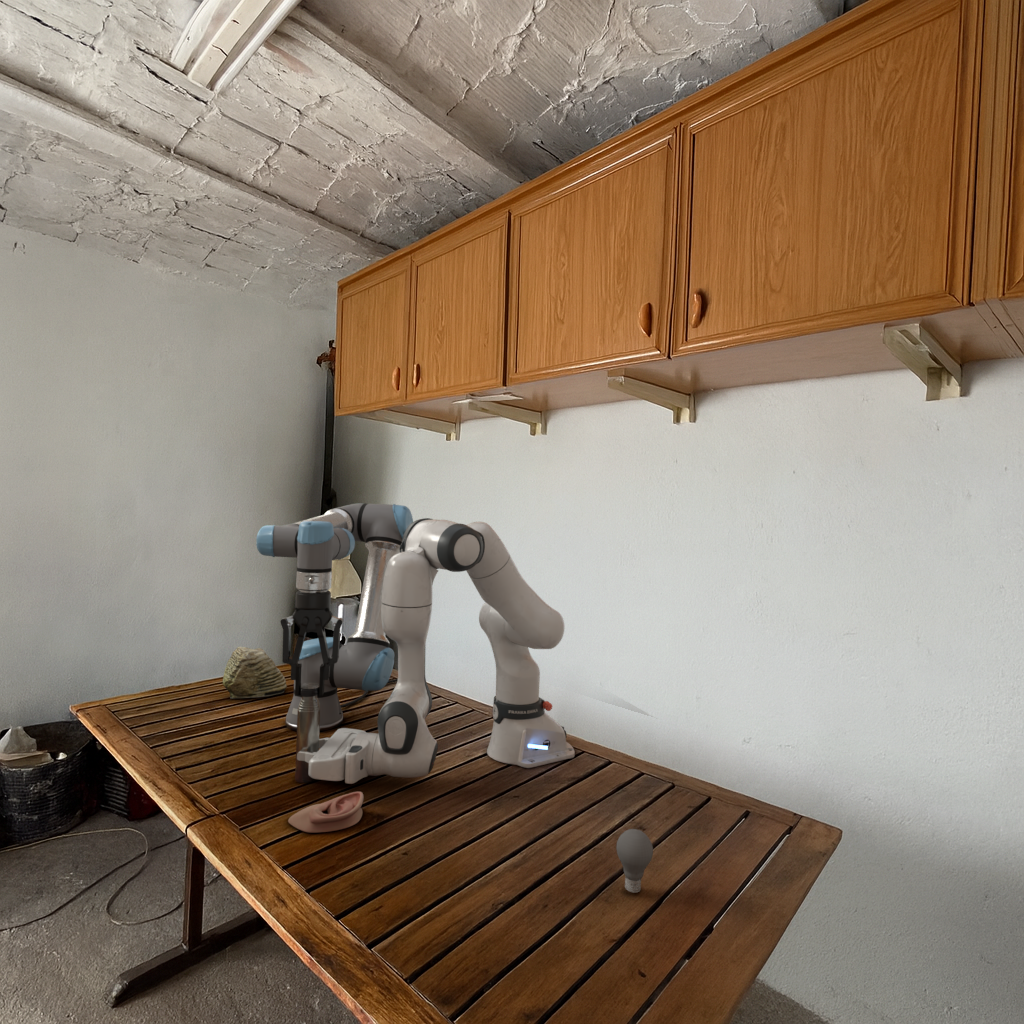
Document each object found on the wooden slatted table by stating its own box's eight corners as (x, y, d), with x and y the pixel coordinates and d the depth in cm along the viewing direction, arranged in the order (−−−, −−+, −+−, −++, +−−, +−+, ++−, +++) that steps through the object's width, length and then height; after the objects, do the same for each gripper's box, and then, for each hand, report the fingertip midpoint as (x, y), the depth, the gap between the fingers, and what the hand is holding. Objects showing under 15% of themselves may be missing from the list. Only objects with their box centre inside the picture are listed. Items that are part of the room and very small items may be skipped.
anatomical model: (280, 807, 120) (311, 781, 131) (279, 828, 120) (310, 800, 131) (344, 817, 117) (370, 790, 129) (343, 838, 118) (370, 809, 129)
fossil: (218, 695, 195) (220, 647, 195) (278, 685, 208) (279, 640, 207) (228, 703, 189) (230, 653, 188) (289, 692, 201) (290, 645, 201)
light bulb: (610, 879, 108) (613, 822, 108) (644, 879, 109) (647, 822, 109) (619, 902, 102) (622, 840, 102) (655, 901, 103) (658, 840, 103)
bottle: (292, 775, 143) (296, 686, 143) (314, 771, 146) (318, 684, 145) (297, 784, 139) (301, 692, 138) (320, 780, 141) (323, 689, 141)
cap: (306, 698, 139) (306, 690, 139) (294, 693, 142) (294, 685, 142) (324, 694, 142) (324, 686, 142) (312, 689, 145) (313, 681, 145)
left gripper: (269, 591, 136) (264, 699, 137) (352, 593, 139) (348, 699, 140) (276, 587, 144) (272, 689, 144) (355, 588, 147) (351, 688, 147)
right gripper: (377, 723, 152) (320, 719, 152) (351, 757, 131) (285, 753, 132) (376, 749, 152) (319, 745, 153) (349, 787, 131) (284, 783, 132)
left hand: (309, 693), depth 142 cm, fingers closed on cap, 4 cm apart
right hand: (303, 749), depth 142 cm, fingers closed on bottle, 5 cm apart
